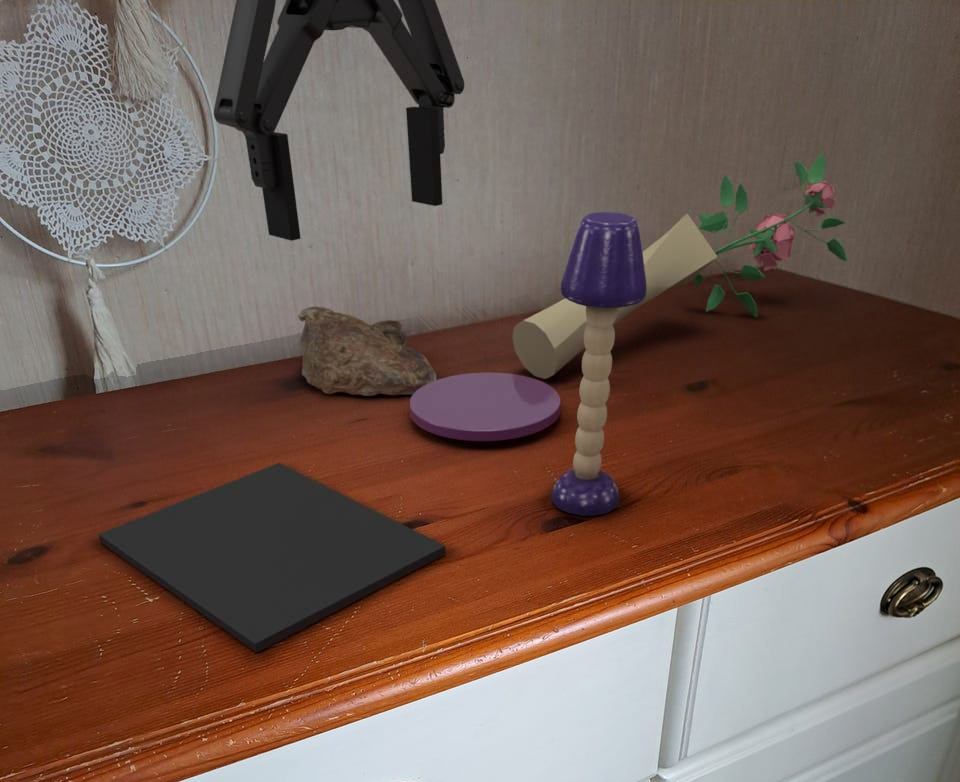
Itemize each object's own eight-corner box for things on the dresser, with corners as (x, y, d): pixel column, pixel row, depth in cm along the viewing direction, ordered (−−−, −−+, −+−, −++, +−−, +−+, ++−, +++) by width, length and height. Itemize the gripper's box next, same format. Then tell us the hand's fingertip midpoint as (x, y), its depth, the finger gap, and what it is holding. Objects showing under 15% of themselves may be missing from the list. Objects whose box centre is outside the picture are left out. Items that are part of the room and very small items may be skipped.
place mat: (100, 542, 57) (97, 533, 57) (280, 470, 65) (279, 462, 64) (256, 653, 48) (254, 643, 48) (445, 554, 56) (445, 545, 55)
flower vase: (524, 445, 85) (765, 274, 99) (622, 450, 75) (874, 260, 89) (473, 316, 79) (735, 154, 93) (572, 304, 70) (848, 125, 83)
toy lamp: (623, 484, 62) (644, 205, 52) (633, 519, 58) (659, 226, 49) (548, 485, 62) (556, 207, 52) (554, 521, 58) (564, 228, 49)
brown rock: (333, 412, 73) (325, 347, 70) (283, 360, 82) (275, 301, 79) (448, 389, 76) (445, 326, 73) (388, 342, 85) (384, 284, 82)
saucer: (379, 419, 71) (378, 401, 70) (484, 378, 78) (483, 361, 77) (486, 464, 65) (486, 444, 64) (591, 415, 71) (592, 397, 70)
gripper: (179, -165, 50) (247, 262, 62) (509, -149, 64) (512, 196, 77) (108, -153, 54) (185, 244, 67) (432, -141, 69) (446, 185, 81)
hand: (359, 219), depth 72 cm, fingers open, 13 cm apart
